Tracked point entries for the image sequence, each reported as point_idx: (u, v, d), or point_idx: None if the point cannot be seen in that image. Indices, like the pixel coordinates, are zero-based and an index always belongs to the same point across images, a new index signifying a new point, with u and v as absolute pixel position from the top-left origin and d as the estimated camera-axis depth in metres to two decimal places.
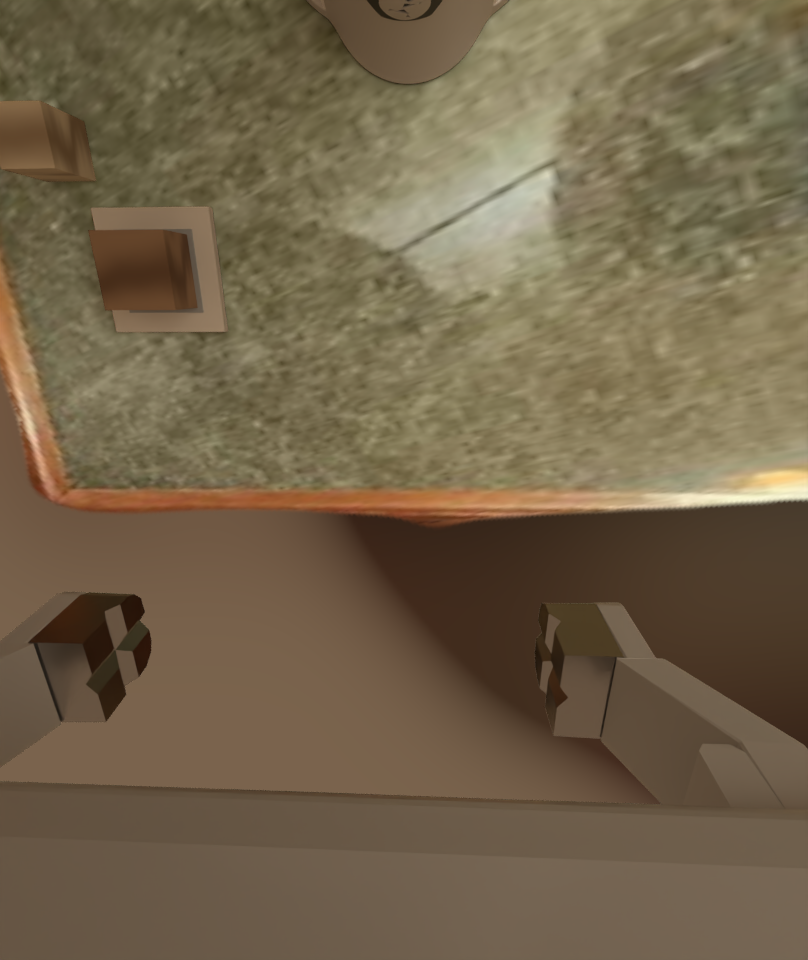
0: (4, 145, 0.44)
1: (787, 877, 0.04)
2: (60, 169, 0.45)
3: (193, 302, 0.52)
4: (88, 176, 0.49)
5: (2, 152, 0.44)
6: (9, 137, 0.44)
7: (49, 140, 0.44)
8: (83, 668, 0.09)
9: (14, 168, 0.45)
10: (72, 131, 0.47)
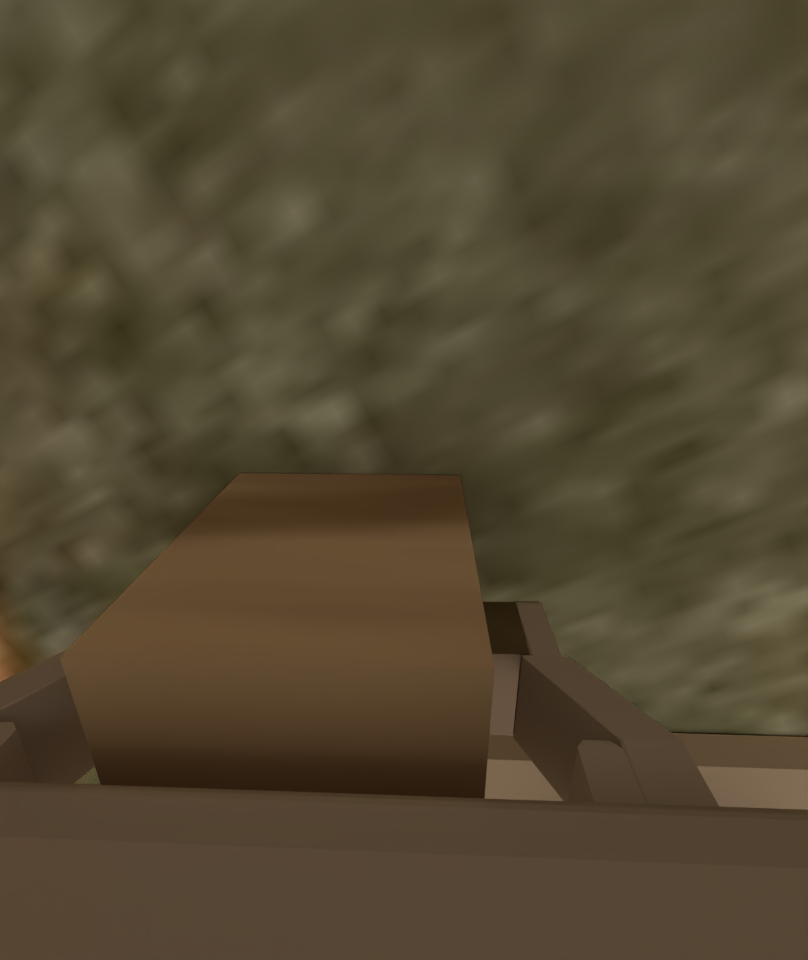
0: None
1: (787, 877, 0.04)
2: None
3: None
4: None
5: None
6: None
7: None
8: None
9: None
10: None
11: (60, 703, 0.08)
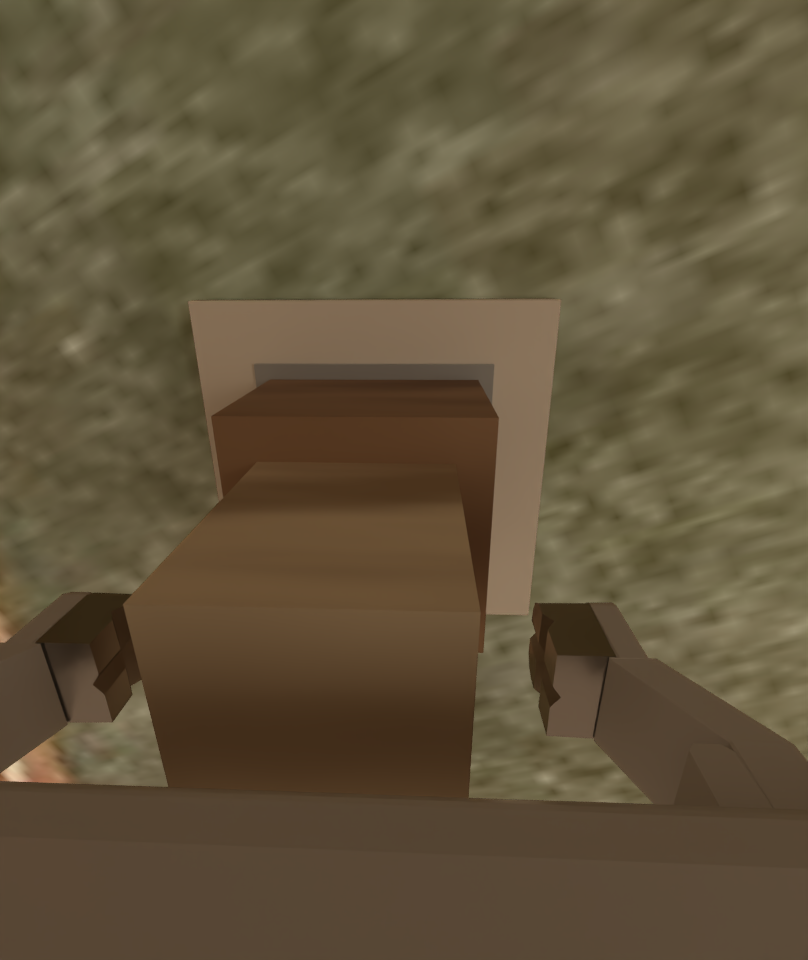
0: (216, 769, 0.08)
1: (787, 877, 0.04)
2: None
3: None
4: None
5: None
6: (250, 745, 0.08)
7: (470, 760, 0.08)
8: (90, 668, 0.09)
9: None
10: None
11: None
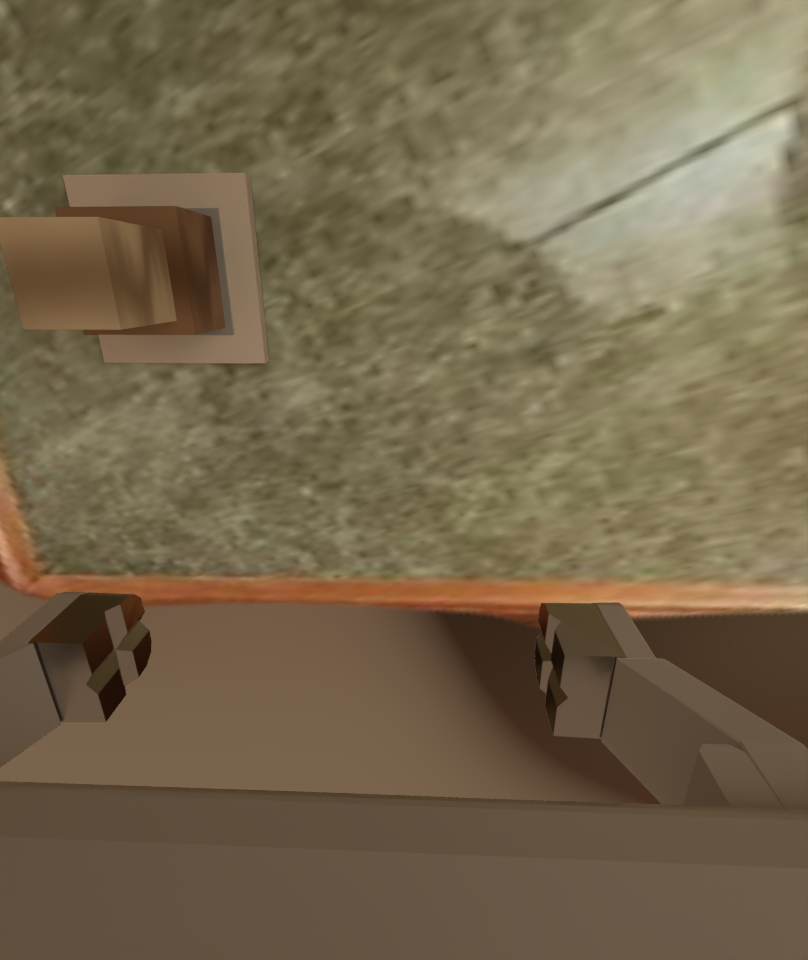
0: (30, 291, 0.24)
1: (787, 877, 0.04)
2: (128, 327, 0.26)
3: (219, 320, 0.34)
4: (166, 319, 0.29)
5: (26, 302, 0.24)
6: (39, 278, 0.24)
7: (111, 283, 0.24)
8: (83, 668, 0.09)
9: (47, 328, 0.25)
10: (145, 252, 0.27)
11: None
